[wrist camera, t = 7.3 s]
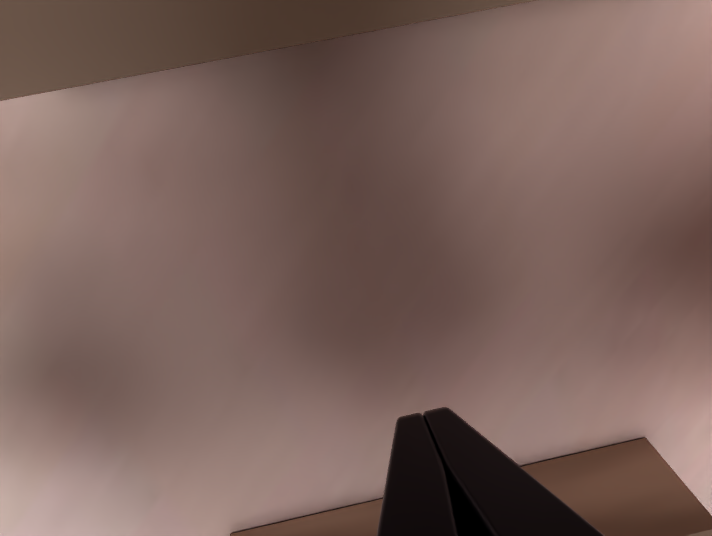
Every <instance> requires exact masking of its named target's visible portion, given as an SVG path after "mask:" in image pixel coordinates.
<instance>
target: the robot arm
mask: <svg viewBox="0 0 712 536" xmlns="http://www.w3.org/2000/svg"><path fill="white" fill-rule="evenodd" d="M376 536H605V535H603V534H602V533H601V532H600V531H599V530H597V529H596V528H595V527H594V526H592V525H591V524H590V523H589V522H588V521H586V520H585V519H584V518H583V517H581V516H580V515H579V514H578V513H577V512H575V511H574V510H573V509H572V508H570V507H569V506H568V505H567V504H566V503H564V502H563V501H562V500H561V499H559V498H558V497H557V496H556V495H555V494H553V493H552V492H551V491H550V490H548V489H547V488H546V487H545V486H544V485H542V484H541V483H540V482H539V481H537V480H536V479H535V478H534V477H533V476H531V475H530V474H529V473H528V472H526V471H525V470H524V469H523V468H522V467H520V466H519V465H518V464H517V463H515V462H514V461H513V460H512V459H510V458H509V457H508V456H507V455H506V454H504V453H503V452H502V451H501V450H499V449H498V448H497V447H496V446H495V445H493V444H492V443H491V442H490V441H488V440H487V439H486V438H485V437H484V436H482V435H481V434H480V433H479V432H477V431H476V430H475V429H474V428H473V427H471V426H470V425H469V424H468V423H466V422H465V421H464V420H463V419H462V418H460V417H459V416H458V415H457V414H455V413H454V412H453V411H452V410H451V409H449V408H447V407H442V408H438V409H433V410H429V411H425V412H424V414H423V415H422V414H420V413H415V414H411V415H406V416H402V417H399V418H398V419H397V422H396V427H395V433H394V439H393V444H392V450H391V456H390V461H389V467H388V473H387V478H386V484H385V490H384V495H383V501H382V507H381V512H380V518H379V524H378V529H377V535H376Z"/></svg>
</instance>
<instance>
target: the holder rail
mask: <svg viewBox="0 0 712 536" xmlns="http://www.w3.org/2000/svg"><path fill="white" fill-rule="evenodd" d="M530 1H536V0H0V101H2V100H7V99H13V98H18V97H23V96H29V95H34V94H39V93H45V92H50V91H56V90H61V89H66V88H72V87H77V86H82V85H88V84H93V83H98V82H104V81H109V80H114V79H120V78H125V77H130V76H136V75H141V74H146V73H152V72H157V71H162V70H168V69H173V68H178V67H184V66H189V65H194V64H200V63H205V62H210V61H216V60H221V59H226V58H232V57H237V56H242V55H248V54H253V53H258V52H264V51H269V50H274V49H280V48H285V47H290V46H296V45H301V44H306V43H312V42H317V41H322V40H328V39H333V38H338V37H344V36H349V35H354V34H360V33H365V32H370V31H376V30H381V29H386V28H392V27H397V26H402V25H408V24H413V23H418V22H424V21H429V20H434V19H440V18H445V17H450V16H456V15H461V14H466V13H472V12H477V11H482V10H488V9H493V8H498V7H504V6H509V5H514V4H520V3H525V2H530ZM522 468H523V469H524V470H525V471H526V472H528V473H529V474H530V475H531V476H533V477H534V478H535V479H536V480H537V481H539V482H540V483H541V484H542V485H544V486H545V487H546V488H547V489H548V490H550V491H551V492H552V493H553V494H555V495H556V496H557V497H558V498H559V499H561V500H562V501H563V502H564V503H566V504H567V505H568V506H569V507H570V508H572V509H573V510H574V511H575V512H577V513H578V514H579V515H580V516H581V517H583V518H584V519H585V520H586V521H588V522H589V523H590V524H591V525H592V526H594V527H595V528H596V529H597V530H599V531H600V532H601V533H602V534H603V535H605V536H712V516H711V515H710V513H709V512H708V511H707V510H706V509H705V507H704V506H703V505H702V504H701V503H700V502H699V500H698V499H697V498H696V497H695V496H694V494H693V493H692V492H691V491H690V490H689V489H688V487H687V486H686V485H685V484H684V483H683V481H682V480H681V479H680V478H679V477H678V475H677V474H676V473H675V472H674V471H673V470H672V468H671V467H670V466H669V465H668V464H667V462H666V461H665V460H664V459H663V458H662V457H661V455H660V454H659V453H658V452H657V451H656V449H655V448H654V447H653V446H652V445H651V443H650V442H649V441H648V440H647V439H646V438H642V439H638V440H634V441H629V442H625V443H621V444H616V445H612V446H608V447H603V448H599V449H595V450H591V451H586V452H582V453H578V454H573V455H569V456H565V457H560V458H556V459H552V460H547V461H543V462H539V463H535V464H530V465H526V466H522ZM382 501H383V499H379V500H375V501H371V502H366V503H362V504H358V505H353V506H349V507H345V508H341V509H336V510H332V511H328V512H323V513H319V514H315V515H310V516H306V517H302V518H297V519H293V520H289V521H285V522H280V523H276V524H272V525H267V526H263V527H259V528H254V529H250V530H246V531H241V532H237V533H233V534H230V536H376V535H377V529H378V524H379V518H380V512H381V507H382Z"/></svg>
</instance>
